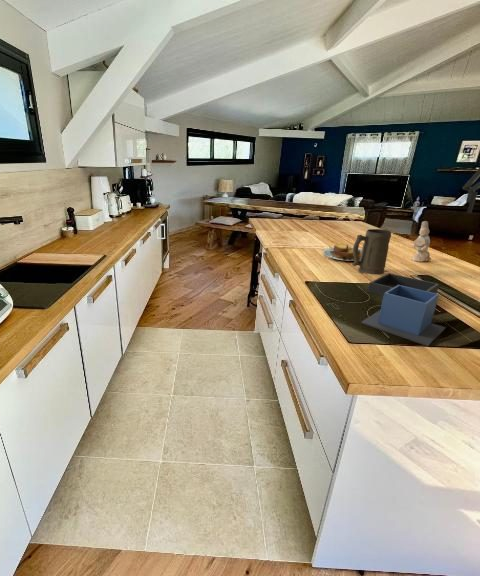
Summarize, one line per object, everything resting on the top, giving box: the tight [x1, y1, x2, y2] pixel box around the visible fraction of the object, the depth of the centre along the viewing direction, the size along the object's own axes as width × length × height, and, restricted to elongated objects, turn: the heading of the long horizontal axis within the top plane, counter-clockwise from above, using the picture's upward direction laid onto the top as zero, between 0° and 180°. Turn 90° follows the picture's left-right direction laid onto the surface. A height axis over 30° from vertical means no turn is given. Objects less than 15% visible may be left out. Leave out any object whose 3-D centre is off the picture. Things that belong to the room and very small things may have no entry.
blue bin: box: [378, 285, 440, 335], centre depth 96 cm, size 11×11×10 cm
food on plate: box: [322, 243, 362, 262], centre depth 171 cm, size 25×25×7 cm
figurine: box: [412, 220, 432, 262], centre depth 161 cm, size 9×8×20 cm
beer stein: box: [352, 228, 392, 275], centre depth 143 cm, size 15×11×20 cm
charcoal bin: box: [367, 272, 440, 297], centre depth 120 cm, size 18×18×5 cm
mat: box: [360, 309, 448, 347], centre depth 97 cm, size 18×18×1 cm
